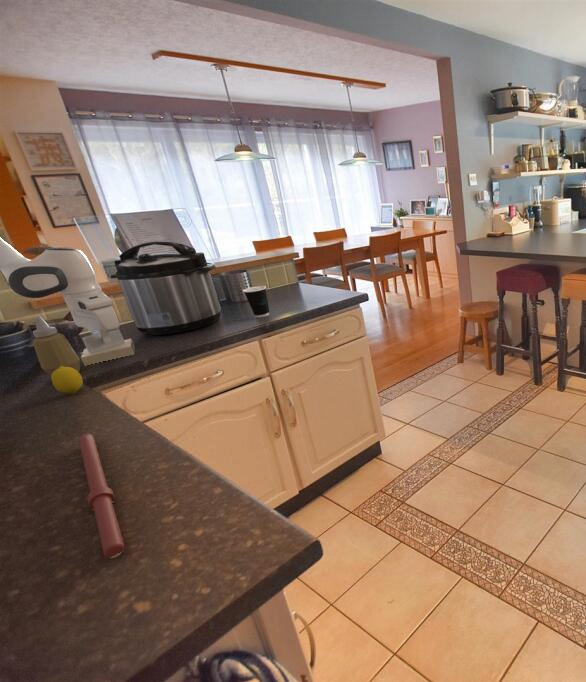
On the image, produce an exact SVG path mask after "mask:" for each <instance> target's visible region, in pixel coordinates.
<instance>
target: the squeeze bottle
mask: <svg viewBox="0 0 586 682" xmlns="http://www.w3.org/2000/svg"><path fill="white" fill-rule="evenodd" d="M34 321H35V327H36V329H35V330H33V331H32V334H33V336H34V339H33V340H32V345H33V348H34V351H35V354H36V356H37V360H38V363H39V365H40V367H41V369H42V370H43V372H45V373H46V374H47V375H49V376H50V377H51V376H52V373H53V372H54V371H55V370H56V369H58V368H59V367H60V366H63V367H71V368H74V369H75V370H77V371H78V372H79V373H80V371H81V369H80V366H81V365H80V361H81V360H80V359H81V358H80V357H79V356H78V354H77V353H76V351H75V349H74V348H73V346H72V345H71V344H70V341H69V340H68V339H67V338H66V335H65V334H63V333H60V332H58V329H57V328H56V326H50V325H49V324H48V323H47V322H46V321H45V320H44V319H43V317H41V316H36V317H34Z"/></svg>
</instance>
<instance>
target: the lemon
mask: <svg viewBox="0 0 586 682" xmlns="http://www.w3.org/2000/svg"><path fill="white" fill-rule="evenodd" d="M50 378H51V379H50V380H51V383H52V385H53V387H54V389H55V390H57V391H58V392H61V393H64V394H67V393H68V394H71V395H74V394H76V393H77V391H79V390H80V389H81V388H82V386H83V383H84V382H83V381H84V380H83V376H82V375H81V373H80V371H79V372H78V371H77V370H75V369H74V368H71V367H63V366H60V367H59V368H58V369H56V370H55V371H54V372H53V373H52V376H50Z"/></svg>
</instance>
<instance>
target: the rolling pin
mask: <svg viewBox="0 0 586 682" xmlns="http://www.w3.org/2000/svg"><path fill="white" fill-rule="evenodd" d="M78 444H79V448H80V449H79V450H80V453H81V458H82V462H83V467H84V471H85V476H86V480H87V484H88V490H89V494H88V495H87V503H88V508H89V509H90V510H92V509H94V510H93V513H94V517H95V521H96V527H97V531H98V536H99V540H100V544H101V550H102V553H103V557H104V558H105V559H107V558H110V557H112V556H114V555H116V554H117V553H120V552H122V551H123V550H124V549H125V550H126V546H125V542H124V539H123V535H122V532H121V528H120V524H119V522H118V517H117V514H116V511H115V508H114V503H113V504H112V501H114V502H116V498H115V494H114V491H113V490H112V488H111V487H109V486H108V483H107V480H106V476H105V472H104V468H103V465H102V462H101V459H100V458H101V457H100V454H99V451H98V448H97V444H96V441H95V437H94V435H92V434H90V433H85V434H82V435H80V436H79V438H78Z"/></svg>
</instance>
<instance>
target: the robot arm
mask: <svg viewBox="0 0 586 682" xmlns="http://www.w3.org/2000/svg"><path fill="white" fill-rule="evenodd" d="M0 273H1V274H2V276H3V279H4V281H5V282H6V284H7V285H8V287H10V289H11V290H12V291H13V292H14V293H16V295H19V296H21V297H24V298H29V299H42V298H45V297H48V296H51V295H54V294H57V293H59V292H60V294H61V295H62V298H63V299H64V300H63V301H64V302H65V304H66V306H67V308H68V310H69V312H70V314H71V317H72V319H73V322H74V324H75V326H77V327H78V328H83V329H89V332H90V333H91V335H93V334H96V333H100V335H101V340H102V342H104V343H108V342H110V341H111V339H110V337H109V332H111V331H114V330H117V329H119V330H120V322H119V319H118V316H117V313H116V310H115V309H114V307H113V306H112V305H114V301H113V299H112V298H111V297H110V296H108V295H107V294H106V293H105V292H104V291H103V290H102V288H101V286H100V284H99V283H98V282H97V280H96V273H95V271H94V269H93V267H92V264H91V263H90V261H89V260H88V258H87V256H86V254H85V253H84V252H83V251H81V250H80V249H77V248H74V247H49V248H45V250H44V251H43V252H41V253H40V254H39V255H37V256H36V257H34V258H32V259H31V258H28V257H25V256H24V255H22V254H21V253H20V252H18V251H17V250H16V249H14V247H12V246H11V245H10V244H8V243H7V242H6V241H4V239H2V238H1V237H0Z"/></svg>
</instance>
